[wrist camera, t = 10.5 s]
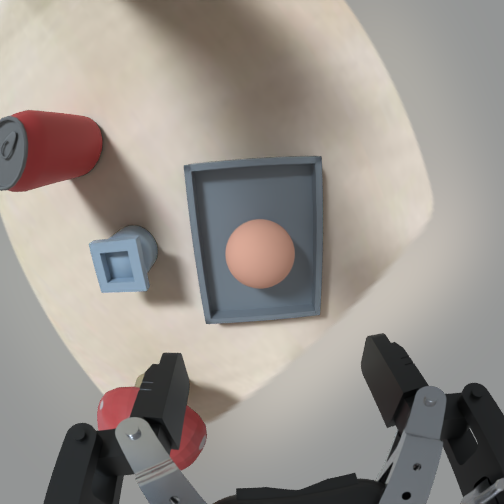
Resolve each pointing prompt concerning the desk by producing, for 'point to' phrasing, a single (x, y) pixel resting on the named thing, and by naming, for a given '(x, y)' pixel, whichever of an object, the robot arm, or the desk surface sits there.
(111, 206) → the desk surface
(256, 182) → the tray
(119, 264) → the square to round adapter
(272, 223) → the ball
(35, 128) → the beer can
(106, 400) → the decorative mushroom
